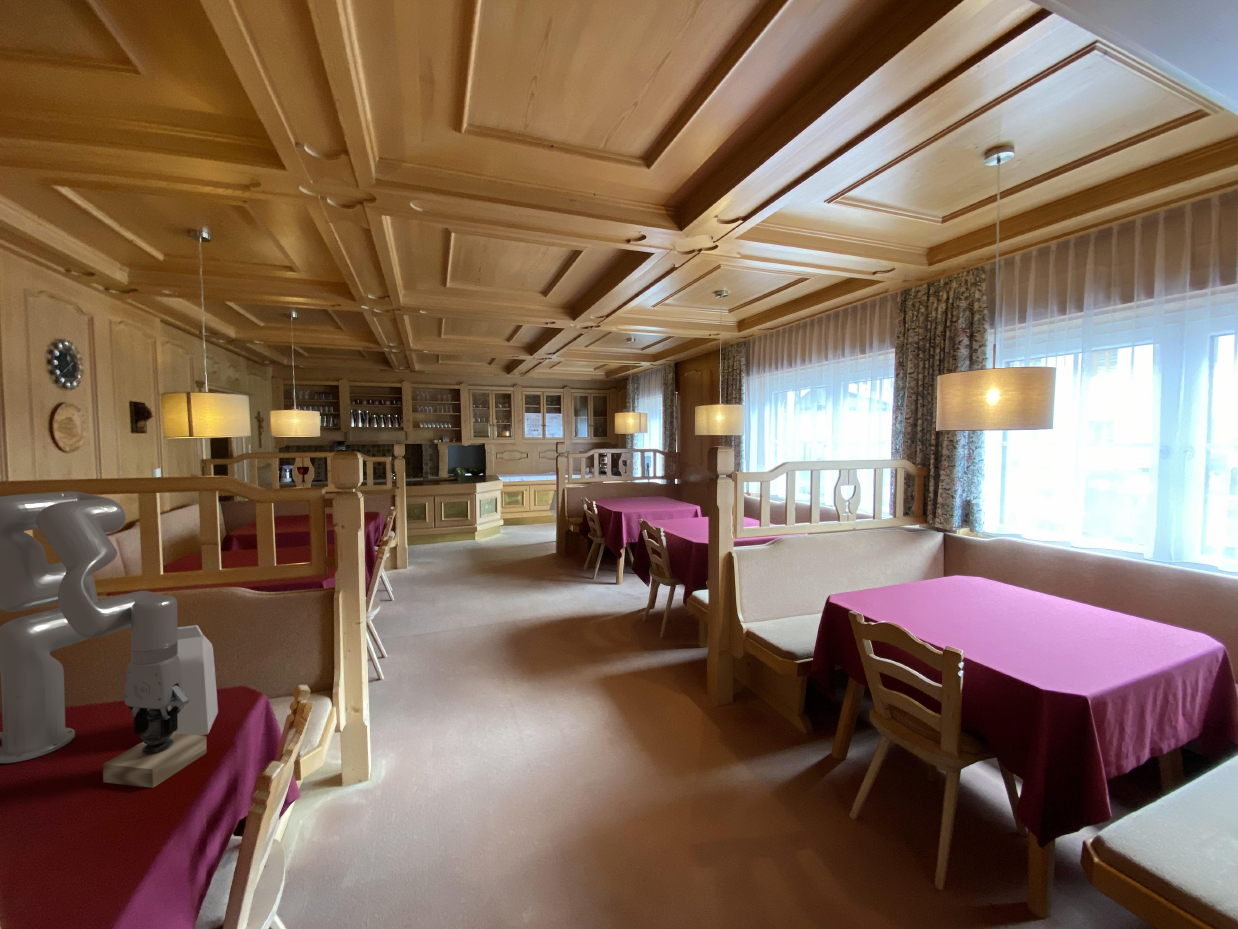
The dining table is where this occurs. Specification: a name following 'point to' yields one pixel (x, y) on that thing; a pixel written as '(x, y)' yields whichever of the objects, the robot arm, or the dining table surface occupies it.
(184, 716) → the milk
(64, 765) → the dining table surface
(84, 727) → the dining table surface
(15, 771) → the dining table surface
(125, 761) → the beech block
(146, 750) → the black chess piece
